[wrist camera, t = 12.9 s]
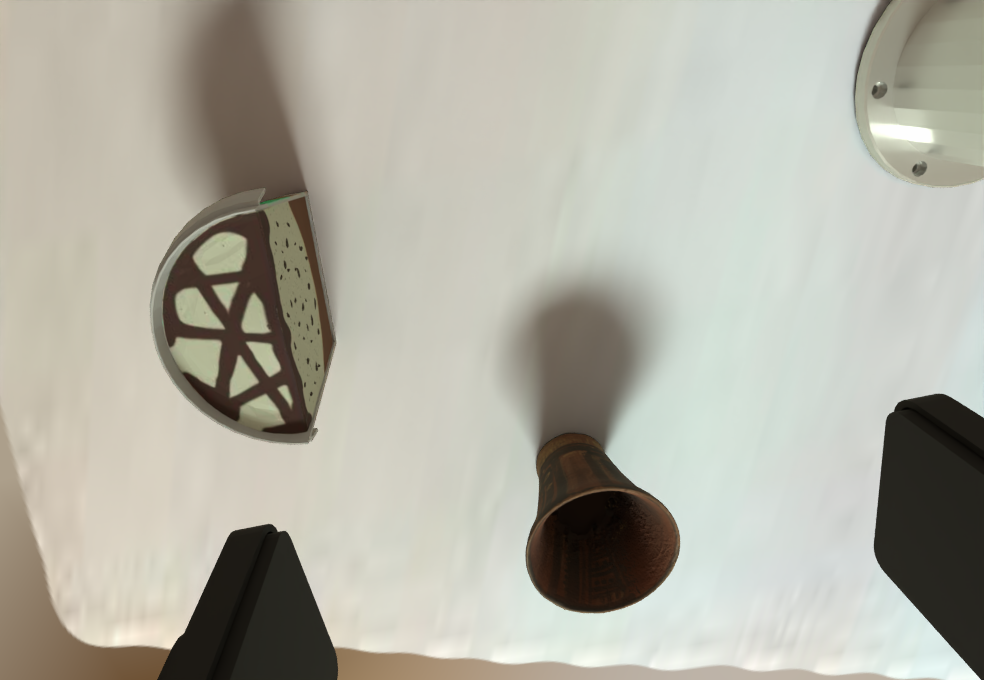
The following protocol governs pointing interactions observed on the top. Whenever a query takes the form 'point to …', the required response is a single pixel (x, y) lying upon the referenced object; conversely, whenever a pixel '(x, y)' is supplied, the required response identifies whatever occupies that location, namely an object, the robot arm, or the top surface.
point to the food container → (247, 316)
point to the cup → (596, 531)
